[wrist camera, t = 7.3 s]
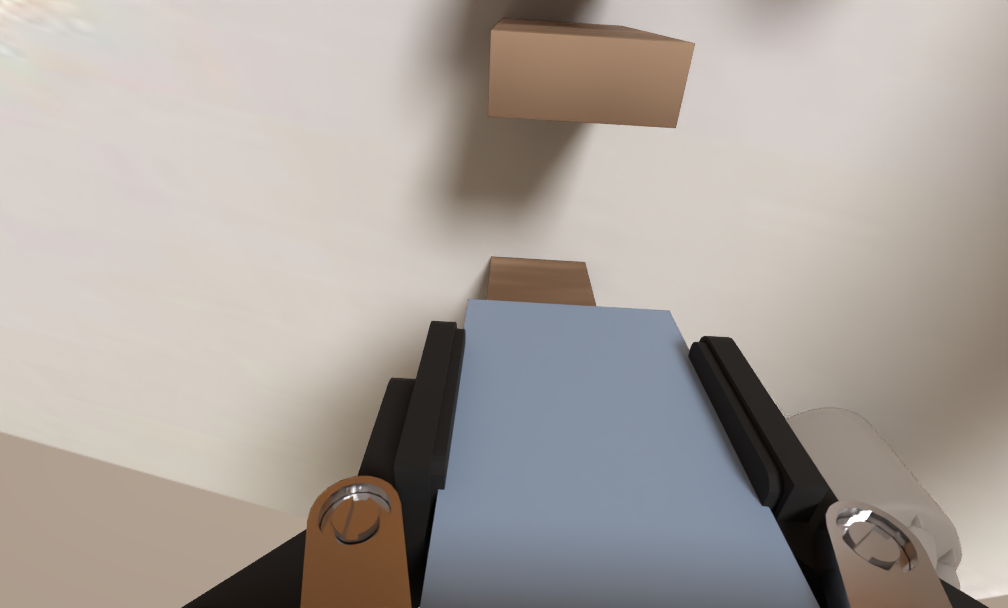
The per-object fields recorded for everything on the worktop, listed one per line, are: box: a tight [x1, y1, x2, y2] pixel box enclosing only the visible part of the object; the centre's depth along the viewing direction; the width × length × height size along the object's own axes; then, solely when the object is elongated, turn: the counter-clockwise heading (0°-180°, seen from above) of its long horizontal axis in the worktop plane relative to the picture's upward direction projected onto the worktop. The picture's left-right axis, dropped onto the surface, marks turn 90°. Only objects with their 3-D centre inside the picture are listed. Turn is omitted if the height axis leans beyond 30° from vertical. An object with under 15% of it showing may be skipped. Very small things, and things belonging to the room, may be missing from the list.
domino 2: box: [487, 257, 596, 306], centre depth 23 cm, size 2×5×10 cm, turn 87°
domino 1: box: [488, 18, 695, 128], centre depth 17 cm, size 2×5×10 cm, turn 87°
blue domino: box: [420, 299, 820, 608], centre depth 9 cm, size 2×5×10 cm, turn 87°
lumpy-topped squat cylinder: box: [786, 408, 962, 590], centre depth 31 cm, size 10×13×9 cm
